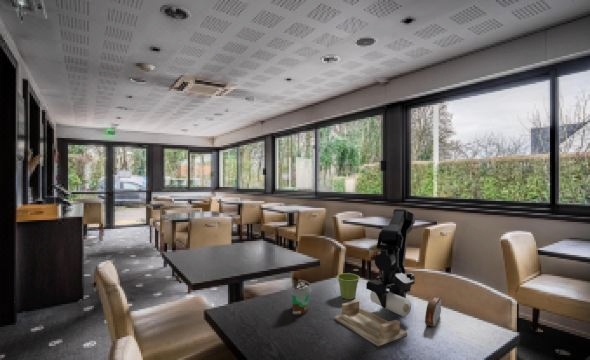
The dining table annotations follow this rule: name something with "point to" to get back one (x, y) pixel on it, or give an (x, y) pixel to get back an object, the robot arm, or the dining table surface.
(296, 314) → the food container
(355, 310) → the holder
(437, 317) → the tin
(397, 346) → the dining table surface
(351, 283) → the plant pot
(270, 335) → the dining table surface
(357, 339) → the dining table surface
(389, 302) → the paper roll
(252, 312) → the dining table surface
